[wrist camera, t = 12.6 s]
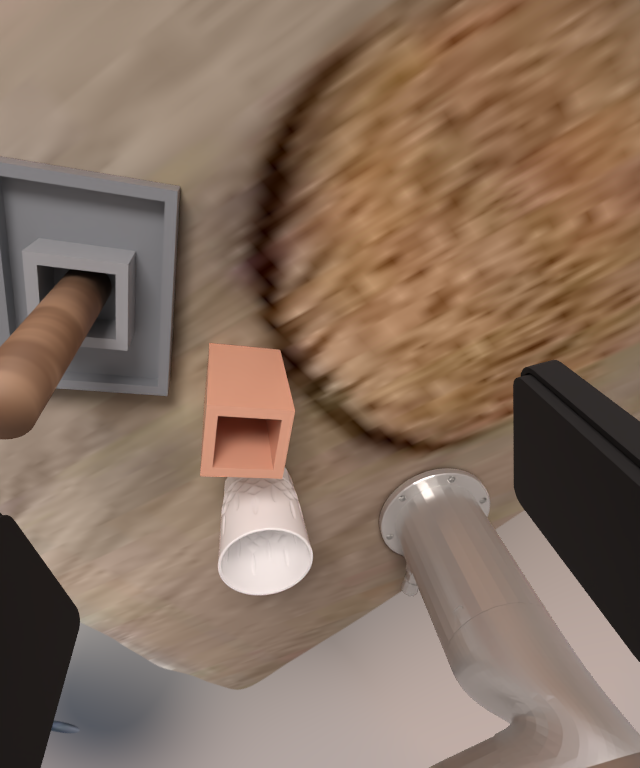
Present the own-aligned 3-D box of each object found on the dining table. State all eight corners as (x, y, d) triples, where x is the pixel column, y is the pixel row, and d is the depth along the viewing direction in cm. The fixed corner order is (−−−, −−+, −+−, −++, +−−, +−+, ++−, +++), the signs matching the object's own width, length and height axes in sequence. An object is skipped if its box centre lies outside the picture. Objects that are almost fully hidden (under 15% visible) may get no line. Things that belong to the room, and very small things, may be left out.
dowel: (111, 307, 38) (39, 441, 24) (66, 302, 37) (-38, 437, 23) (111, 266, 37) (34, 382, 22) (63, 260, 36) (-49, 376, 21)
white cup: (210, 509, 51) (208, 592, 42) (228, 447, 47) (230, 523, 39) (285, 518, 53) (297, 598, 44) (307, 459, 50) (325, 533, 41)
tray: (170, 381, 43) (165, 409, 39) (14, 370, 40) (-8, 398, 36) (180, 186, 36) (175, 196, 32) (-9, 154, 33) (-40, 161, 29)
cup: (270, 408, 46) (282, 478, 37) (204, 404, 45) (200, 476, 36) (280, 349, 43) (295, 410, 35) (209, 343, 42) (206, 405, 33)
